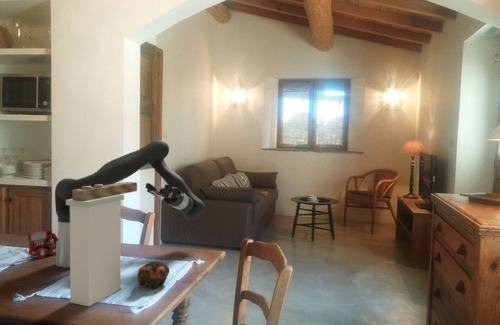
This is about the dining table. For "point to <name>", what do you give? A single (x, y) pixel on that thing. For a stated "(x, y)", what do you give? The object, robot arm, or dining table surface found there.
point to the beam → (103, 191)
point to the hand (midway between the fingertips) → (156, 186)
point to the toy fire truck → (42, 243)
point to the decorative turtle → (153, 274)
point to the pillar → (95, 249)
